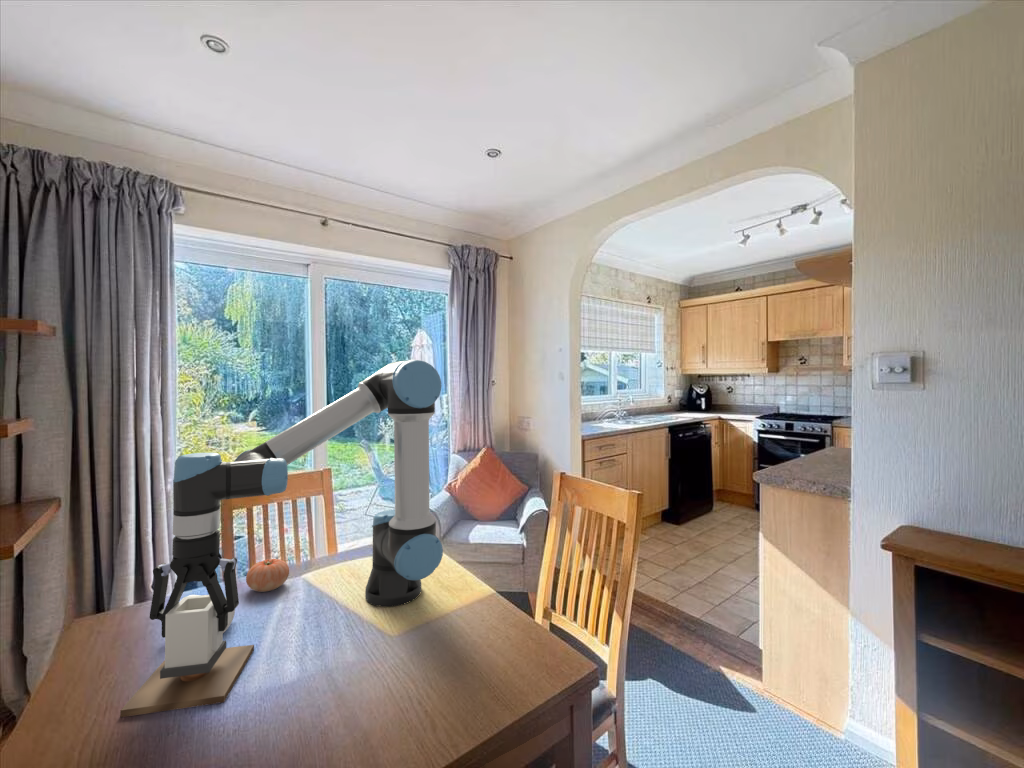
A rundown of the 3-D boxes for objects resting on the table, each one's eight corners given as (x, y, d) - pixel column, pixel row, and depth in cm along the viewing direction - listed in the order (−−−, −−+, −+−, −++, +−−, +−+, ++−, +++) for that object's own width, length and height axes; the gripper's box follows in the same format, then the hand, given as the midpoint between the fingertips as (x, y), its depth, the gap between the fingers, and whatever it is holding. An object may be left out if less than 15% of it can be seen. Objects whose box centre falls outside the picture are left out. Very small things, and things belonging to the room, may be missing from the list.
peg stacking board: (254, 650, 95) (254, 594, 95) (223, 702, 79) (224, 635, 79) (169, 660, 91) (170, 602, 91) (120, 717, 75) (121, 647, 75)
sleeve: (222, 641, 89) (223, 593, 89) (207, 663, 82) (208, 610, 82) (183, 646, 87) (184, 597, 88) (164, 668, 81) (165, 614, 81)
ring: (226, 647, 90) (226, 640, 90) (209, 672, 82) (209, 664, 82) (181, 652, 88) (181, 645, 88) (160, 678, 80) (160, 670, 80)
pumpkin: (237, 591, 122) (238, 562, 122) (276, 576, 131) (276, 550, 131) (258, 601, 116) (259, 571, 116) (297, 585, 125) (297, 558, 125)
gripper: (259, 523, 91) (257, 632, 91) (148, 529, 86) (146, 644, 86) (246, 535, 84) (244, 654, 84) (124, 543, 79) (122, 668, 79)
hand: (195, 649), depth 85 cm, fingers closed on sleeve, 7 cm apart
